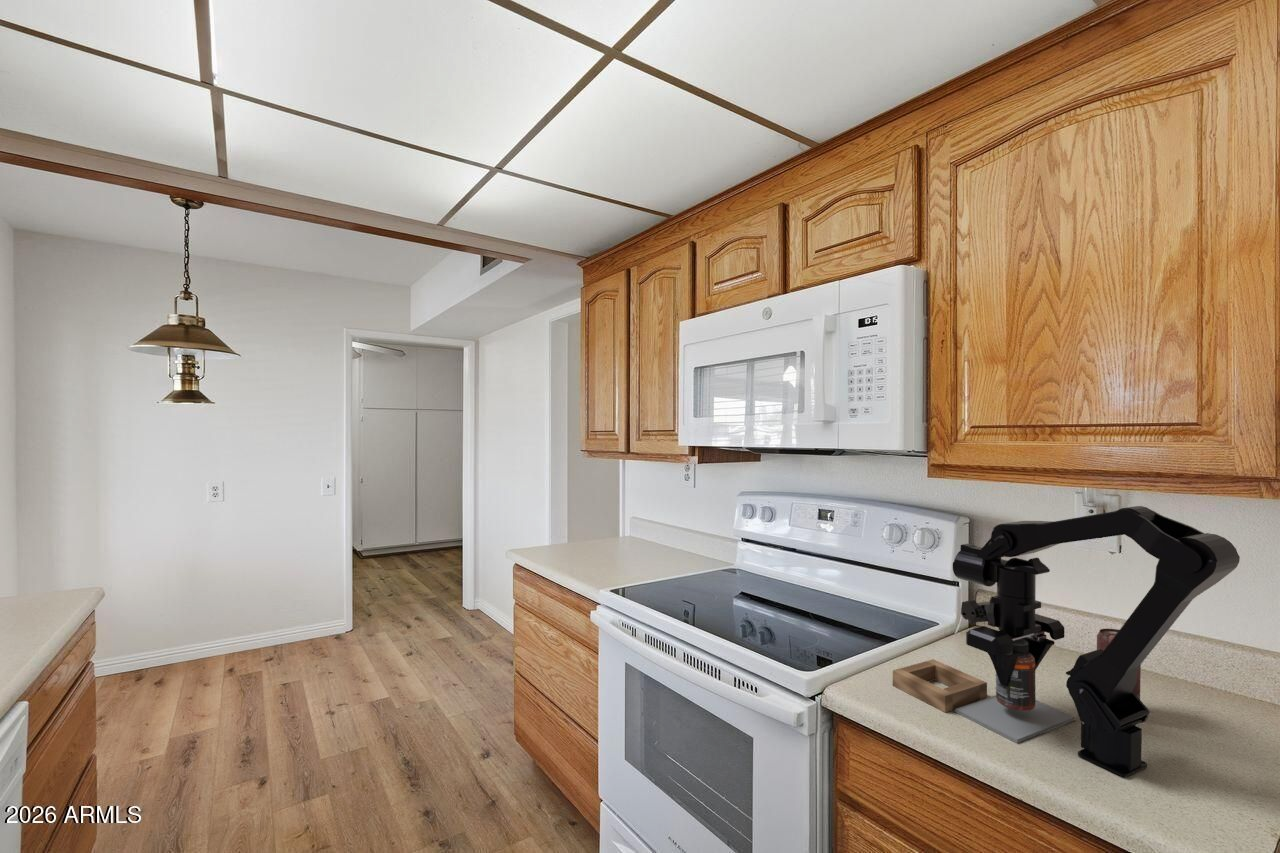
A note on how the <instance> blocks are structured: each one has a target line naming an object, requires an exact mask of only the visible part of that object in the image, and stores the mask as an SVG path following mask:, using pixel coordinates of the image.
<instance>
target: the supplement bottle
mask: <svg viewBox="0 0 1280 853" xmlns="http://www.w3.org/2000/svg"><path fill="white" fill-rule="evenodd" d="M1013 650H1014V651H1016V652H1019V656H1018V659H1017V662H1016V665H1015V668H1014V671H1013V674H1012V676H1011V679H1010V682H1009V684H1008V686H1003V685H1001V684H1000V682H999V679H998V676H997V673H996V672H995V695H996V699H997V701H998V702H999V703H1000V704H1002V705H1003V706H1005V707H1008V708H1011V709H1014V710H1019V711H1027V710H1032V709H1033V708H1034V707H1035V702H1036V701H1035V700H1037V698H1036V670H1035V659H1034V657H1033V655H1032V654H1030V653H1029V652H1028V650H1029V648H1028V642H1027V641H1026V640H1024V639H1018V640H1014V641H1013Z"/></svg>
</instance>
